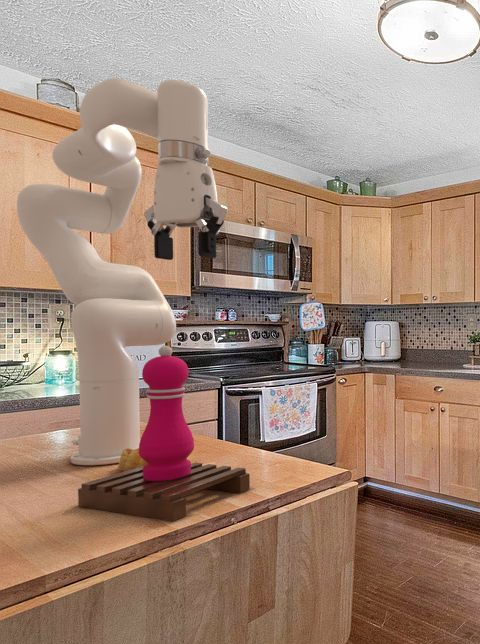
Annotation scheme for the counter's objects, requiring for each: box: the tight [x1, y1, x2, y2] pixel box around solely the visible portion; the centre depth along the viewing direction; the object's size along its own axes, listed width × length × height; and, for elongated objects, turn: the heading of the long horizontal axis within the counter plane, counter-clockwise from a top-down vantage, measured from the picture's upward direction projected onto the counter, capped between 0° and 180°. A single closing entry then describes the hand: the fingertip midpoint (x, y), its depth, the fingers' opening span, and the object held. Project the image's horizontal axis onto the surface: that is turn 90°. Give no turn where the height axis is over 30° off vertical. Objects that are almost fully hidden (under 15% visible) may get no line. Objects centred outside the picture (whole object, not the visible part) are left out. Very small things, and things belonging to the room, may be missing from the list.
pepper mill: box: [139, 345, 195, 481], centre depth 76 cm, size 7×7×20 cm
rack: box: [77, 462, 251, 522], centre depth 76 cm, size 18×14×3 cm
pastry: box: [117, 448, 147, 472], centre depth 92 cm, size 9×7×4 cm
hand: (185, 257), depth 87 cm, fingers open, 9 cm apart
